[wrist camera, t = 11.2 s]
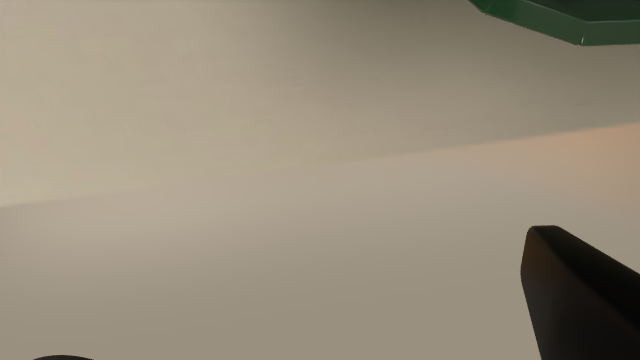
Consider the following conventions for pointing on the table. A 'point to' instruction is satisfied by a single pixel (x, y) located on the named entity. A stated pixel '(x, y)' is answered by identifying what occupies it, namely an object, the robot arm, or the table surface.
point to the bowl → (572, 19)
